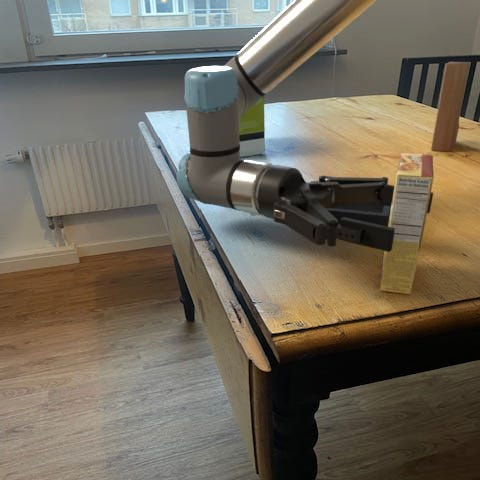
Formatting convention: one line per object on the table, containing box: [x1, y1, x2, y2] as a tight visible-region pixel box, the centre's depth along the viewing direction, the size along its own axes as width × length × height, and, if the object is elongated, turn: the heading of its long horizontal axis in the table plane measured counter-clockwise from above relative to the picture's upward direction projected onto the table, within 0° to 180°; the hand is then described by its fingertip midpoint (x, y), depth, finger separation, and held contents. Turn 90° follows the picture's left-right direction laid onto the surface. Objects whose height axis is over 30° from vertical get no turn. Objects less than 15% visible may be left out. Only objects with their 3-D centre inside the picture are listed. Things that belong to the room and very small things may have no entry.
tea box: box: [239, 96, 266, 158], centre depth 118 cm, size 15×10×15 cm
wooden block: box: [430, 61, 471, 153], centre depth 113 cm, size 9×4×18 cm, turn 154°
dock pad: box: [315, 189, 391, 232], centre depth 84 cm, size 16×16×3 cm
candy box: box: [379, 152, 435, 295], centre depth 63 cm, size 9×4×15 cm, turn 163°
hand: (413, 220), depth 62 cm, fingers open, 13 cm apart
